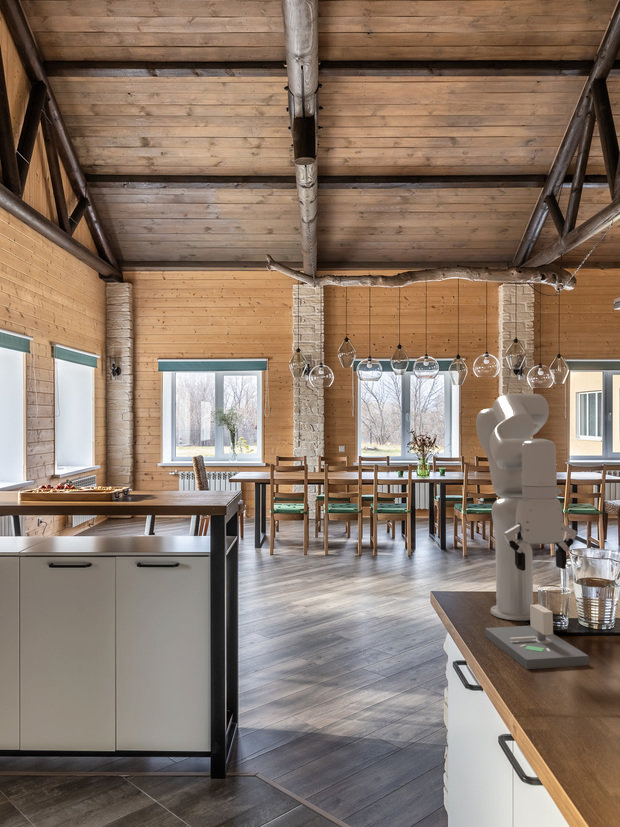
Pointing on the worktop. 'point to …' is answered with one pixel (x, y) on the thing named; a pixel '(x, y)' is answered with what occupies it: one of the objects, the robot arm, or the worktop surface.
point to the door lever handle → (539, 623)
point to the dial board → (536, 648)
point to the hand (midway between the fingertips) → (540, 568)
